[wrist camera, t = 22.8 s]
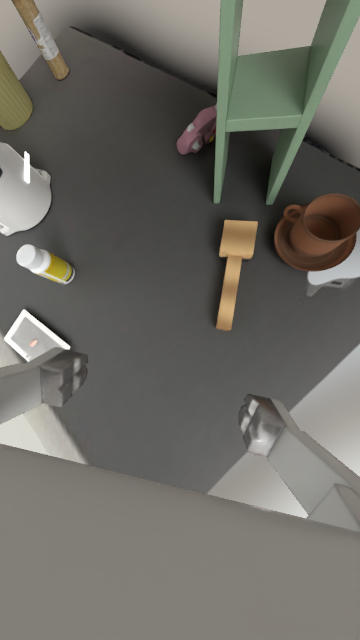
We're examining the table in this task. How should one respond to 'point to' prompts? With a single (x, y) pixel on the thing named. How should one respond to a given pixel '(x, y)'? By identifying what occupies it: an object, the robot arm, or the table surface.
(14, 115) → the potted cactus
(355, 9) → the sage stand
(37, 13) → the sprinkles bottle
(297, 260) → the cup and saucer
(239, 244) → the desk brush
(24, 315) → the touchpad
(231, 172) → the table surface
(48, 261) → the supplement bottle
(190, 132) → the video game controller
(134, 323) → the table surface
